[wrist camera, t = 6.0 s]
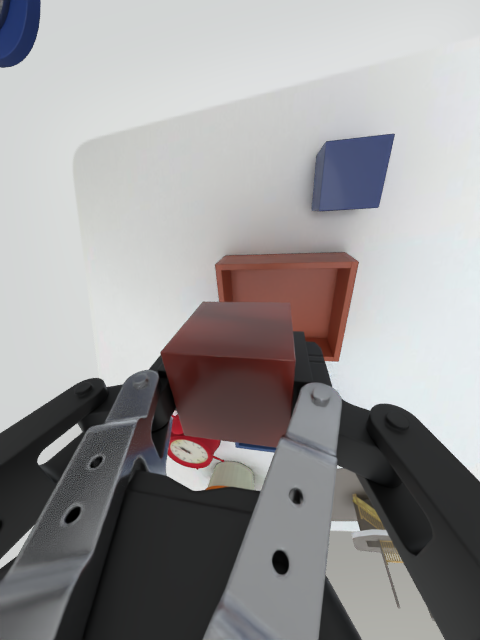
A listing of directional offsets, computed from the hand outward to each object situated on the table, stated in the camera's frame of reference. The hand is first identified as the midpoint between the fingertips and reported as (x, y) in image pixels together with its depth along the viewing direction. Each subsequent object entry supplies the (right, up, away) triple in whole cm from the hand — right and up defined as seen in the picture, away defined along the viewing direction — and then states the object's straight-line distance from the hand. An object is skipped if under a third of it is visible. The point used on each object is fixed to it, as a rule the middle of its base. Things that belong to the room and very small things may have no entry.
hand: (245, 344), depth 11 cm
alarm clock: (-10, -20, +31) cm, 39 cm away
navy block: (+9, +14, +8) cm, 19 cm away
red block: (0, 0, 0) cm, 1 cm away
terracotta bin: (+5, +4, +15) cm, 16 cm away
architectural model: (+27, -35, +32) cm, 54 cm away
